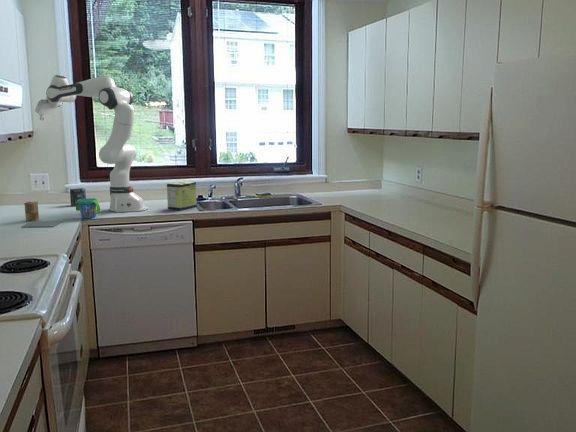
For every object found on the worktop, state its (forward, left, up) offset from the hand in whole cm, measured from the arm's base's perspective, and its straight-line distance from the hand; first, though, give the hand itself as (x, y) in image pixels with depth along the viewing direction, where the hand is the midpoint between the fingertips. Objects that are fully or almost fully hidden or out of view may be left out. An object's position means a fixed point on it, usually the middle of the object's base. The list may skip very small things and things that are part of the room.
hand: (47, 120), depth 353 cm
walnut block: (-9, +58, -53) cm, 79 cm away
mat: (-19, +70, -53) cm, 90 cm away
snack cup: (-37, +51, -53) cm, 83 cm away
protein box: (-85, +22, -53) cm, 103 cm away
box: (-18, +9, -53) cm, 57 cm away
